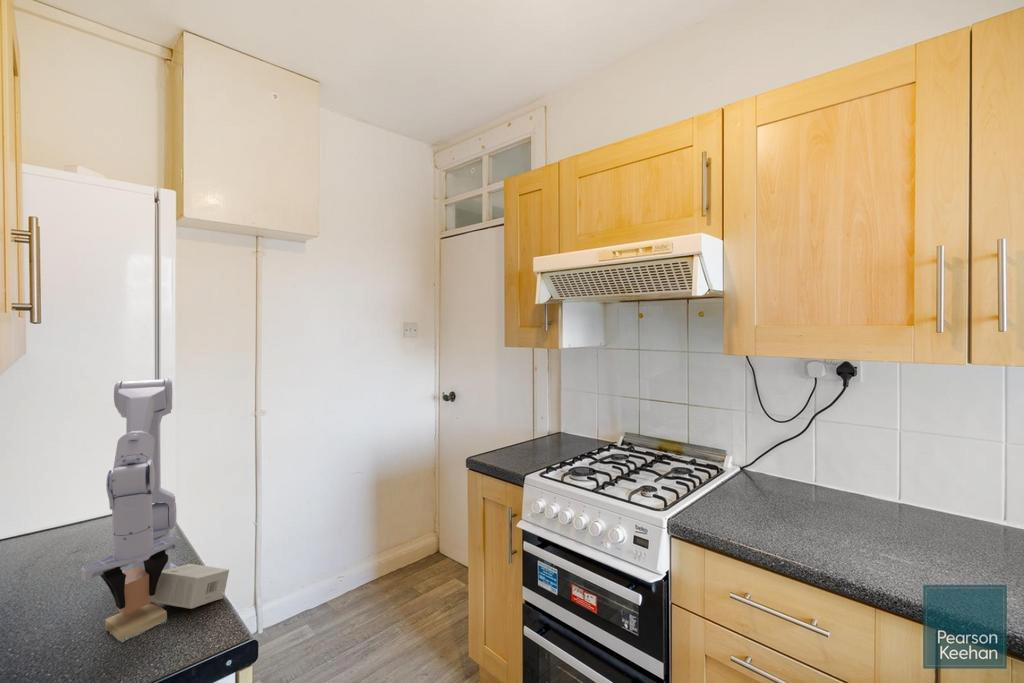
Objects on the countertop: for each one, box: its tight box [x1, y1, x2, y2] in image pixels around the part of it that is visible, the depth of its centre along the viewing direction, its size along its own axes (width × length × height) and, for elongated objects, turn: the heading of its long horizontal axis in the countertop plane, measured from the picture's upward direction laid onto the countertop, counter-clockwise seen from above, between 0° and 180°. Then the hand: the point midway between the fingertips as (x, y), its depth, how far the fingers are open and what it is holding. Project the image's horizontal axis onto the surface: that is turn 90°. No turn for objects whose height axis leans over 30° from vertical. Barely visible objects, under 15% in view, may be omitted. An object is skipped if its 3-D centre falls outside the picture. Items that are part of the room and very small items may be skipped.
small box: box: [149, 563, 230, 610], centre depth 93 cm, size 8×6×10 cm
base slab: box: [104, 602, 168, 641], centre depth 86 cm, size 7×7×2 cm
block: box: [113, 567, 150, 616], centre depth 87 cm, size 4×4×6 cm
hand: (135, 600), depth 86 cm, fingers closed on block, 4 cm apart
